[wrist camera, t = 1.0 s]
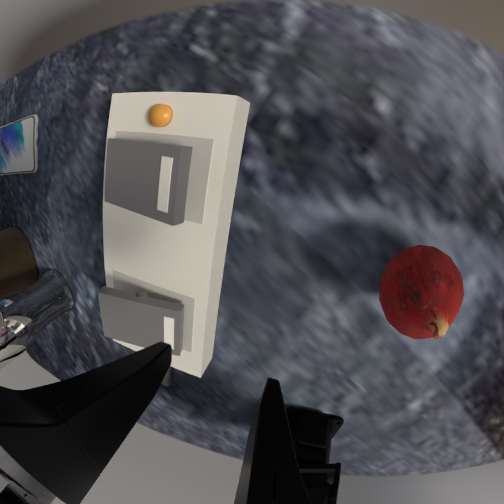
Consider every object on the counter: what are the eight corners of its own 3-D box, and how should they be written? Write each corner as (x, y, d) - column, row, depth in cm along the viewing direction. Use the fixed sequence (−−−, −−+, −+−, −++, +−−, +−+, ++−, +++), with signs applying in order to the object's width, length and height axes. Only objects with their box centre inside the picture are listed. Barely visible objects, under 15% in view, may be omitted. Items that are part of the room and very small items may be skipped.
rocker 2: (183, 344, 23) (179, 357, 22) (111, 326, 23) (104, 336, 22) (185, 300, 21) (180, 312, 20) (106, 283, 21) (97, 292, 20)
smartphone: (35, 172, 25) (-8, 176, 28) (41, 171, 26) (-4, 175, 29) (35, 112, 22) (-9, 130, 25) (41, 112, 23) (-5, 130, 26)
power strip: (207, 396, 30) (195, 419, 26) (133, 365, 31) (118, 383, 28) (250, 102, 18) (234, 94, 15) (135, 97, 20) (107, 93, 17)
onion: (357, 267, 20) (368, 330, 13) (413, 215, 18) (457, 254, 11) (401, 315, 21) (422, 384, 13) (454, 269, 18) (498, 325, 11)
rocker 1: (188, 220, 17) (172, 226, 16) (119, 198, 20) (103, 201, 19) (198, 146, 16) (180, 146, 14) (124, 137, 18) (107, 138, 17)
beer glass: (40, 262, 30) (-44, 312, 17) (69, 270, 29) (-27, 332, 15) (52, 307, 33) (-21, 362, 19) (82, 320, 31) (2, 387, 18)
